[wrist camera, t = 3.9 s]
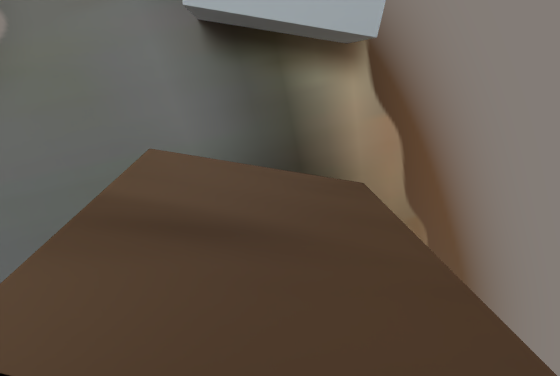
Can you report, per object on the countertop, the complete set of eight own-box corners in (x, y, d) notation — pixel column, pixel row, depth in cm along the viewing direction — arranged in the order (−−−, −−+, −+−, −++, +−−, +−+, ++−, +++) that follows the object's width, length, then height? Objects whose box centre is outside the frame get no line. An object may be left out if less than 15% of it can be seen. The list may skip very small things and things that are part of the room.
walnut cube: (311, 324, 10) (386, 608, 5) (145, 316, 9) (3, 681, 4) (363, 183, 8) (610, 428, 3) (149, 148, 7) (-201, 466, 1)
